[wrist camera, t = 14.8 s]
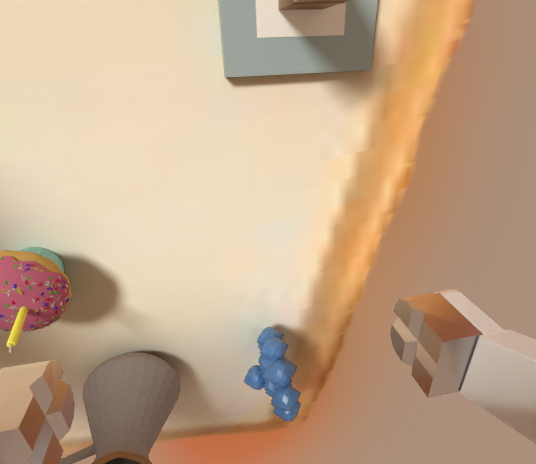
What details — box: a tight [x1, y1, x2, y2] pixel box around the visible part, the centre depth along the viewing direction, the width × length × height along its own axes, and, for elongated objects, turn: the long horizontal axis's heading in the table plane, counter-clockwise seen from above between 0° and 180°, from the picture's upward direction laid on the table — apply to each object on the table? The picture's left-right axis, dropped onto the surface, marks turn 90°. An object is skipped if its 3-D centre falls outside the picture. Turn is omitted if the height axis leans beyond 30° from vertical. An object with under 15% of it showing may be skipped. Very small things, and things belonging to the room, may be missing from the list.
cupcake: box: [0, 247, 72, 353], centre depth 31 cm, size 9×8×12 cm
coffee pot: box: [59, 352, 180, 464], centre depth 38 cm, size 21×12×15 cm, turn 81°
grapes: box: [244, 327, 301, 421], centre depth 42 cm, size 12×7×12 cm, turn 8°
